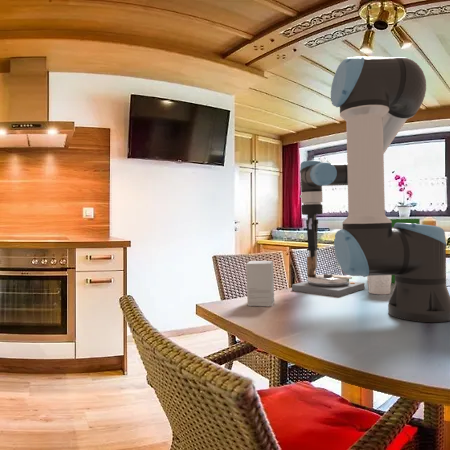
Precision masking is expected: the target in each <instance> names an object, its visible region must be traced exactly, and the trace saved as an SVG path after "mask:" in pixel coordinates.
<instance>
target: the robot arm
mask: <svg viewBox="0 0 450 450" xmlns="http://www.w3.org/2000/svg"><path fill="white" fill-rule="evenodd" d="M426 92H427V80H426V76H425V74H424V71H423V69H422V68H421V66H420V65H419V64H418V63H417V62H415V61H414V60H413V59H410V58H409V57H401V56H396V57H394V56H393V57H392V56H391V57H389V56H388V57H385V56H384V57H383V56H364V55H360V56H353V57H352V56H350V57H345V59H343V60H341V62H340V63H339V65H338V66H337V69H336V71H335V73H334V76H333V79H332V84H331V89H330V102H331V104H332V106H334V107H335V108H339V116H340V118H341V119H342V120H344V121H345V122H346V126H345V127H346V161H347V162H342V163H341V162H338V163H335V162H332V163H330V162H326V161H323V162H321V161H320V160H317V159H316V160H311V159H310V160H305V161H302V162H300V167H299V168H300V169H299V172H300V175H299V176H300V192H301V193H300V195H299V198H301V215H303V216H307V219H306V220H305V224H306V225H305V226H306V233H307V248H306V251H307V252H308V256H314V257H315V258H316V269H318V251H320V248H319V245H318V231H319V219H317V215H322V214H323V213H324V212H323V204H322V203H323V202H324V201H323V187H328V186H331V187H332V186H334V187H338V186H347V203H348V204H347V205H348V206H347V208H348V215H347V217H346V218H345V219H344V221H342V229H339V230H337V231H336V233H335V235H334V240H333V247H334V253H335V257H336V261H337V263H338V265H339V267H340V268H341V270H342V271H343V273H345V274H346V275H347V276H349V277H364V278H367V276H376V275H395V283H394V286H393V289H392V291H391V294H390V299H389V300H388V304H387V307H388V308H387V310H388V311H387V312H388V315H390V316H391V317H394V318H397V319H401V320H405V321H413V322H421V323H444V322H450V293H449V291H448V287H447V255H446V254H447V245H448V243H447V240H446V232H445V230H444V229H443V228H442V227H440V226H438V225H431V224H430V225H429V224H421V223H420V224H410V223H395V224H394V227H393V229H392V221H391V220H390V219H391V218H389V217H387V215H386V209H385V208H386V205H385V204H386V203H385V202H386V201H385V198H386V197H385V167H384V165H385V162H384V161H385V160H384V159H385V158H384V156H385V155H384V154H385V153H386V151H387V150H388V148H389V147H390V145H391V143H392V142H393V141H394V139H395V138H396V136H397V135H398V133H399V132H400V131H401V129H402V128H403V126H404V124H405V123H406V121H407V120H409V119H410V118H413V117H414V116H415V115H416V114H417V112H418V111H419V110H420V108H421V107H422V104H423V102H424V99H425V97H426Z"/></svg>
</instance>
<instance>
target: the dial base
mask: <svg viewBox="0 0 450 450" xmlns="http://www.w3.org/2000/svg"><path fill="white" fill-rule="evenodd" d="M365 287H366V286H365V282H359V281H350V280H349V284H348V285H345V286H316V285H311V284H308V280H306V281H302V282H298V283H293V284H291V291H293V290H294V291H293V292H302V293H309V294H316V295H322V296H323V295H324V296H331V297H338V298H340V297H342V296H346V295H349V294H352V293H356V292H359V291H362V290H364V289H365Z"/></svg>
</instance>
